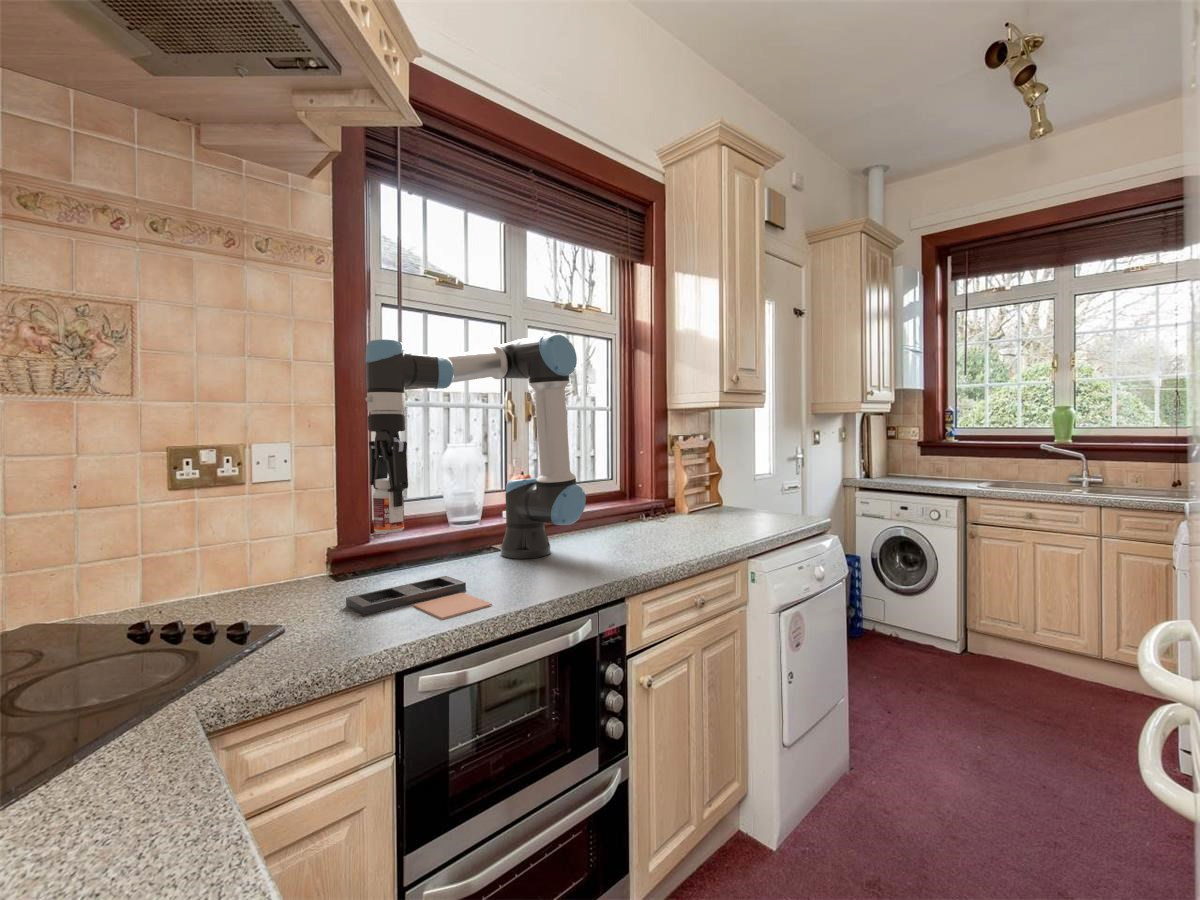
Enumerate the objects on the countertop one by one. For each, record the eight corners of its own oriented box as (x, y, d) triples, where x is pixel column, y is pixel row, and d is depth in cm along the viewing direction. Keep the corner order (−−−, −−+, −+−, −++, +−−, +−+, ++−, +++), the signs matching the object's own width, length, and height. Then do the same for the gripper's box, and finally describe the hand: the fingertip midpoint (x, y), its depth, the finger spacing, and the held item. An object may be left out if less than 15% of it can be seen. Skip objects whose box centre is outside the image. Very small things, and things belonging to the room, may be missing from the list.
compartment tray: (446, 583, 134) (445, 575, 134) (465, 590, 128) (465, 582, 128) (346, 606, 117) (345, 597, 117) (363, 616, 111) (363, 606, 110)
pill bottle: (386, 534, 113) (385, 480, 113) (367, 532, 116) (366, 479, 116) (410, 529, 119) (409, 478, 118) (391, 527, 122) (390, 477, 121)
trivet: (461, 594, 125) (461, 592, 125) (492, 605, 117) (492, 603, 117) (413, 606, 117) (413, 604, 117) (441, 619, 108) (441, 617, 108)
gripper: (351, 414, 120) (354, 517, 121) (388, 411, 107) (391, 527, 108) (384, 414, 126) (387, 513, 127) (424, 412, 112) (426, 522, 113)
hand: (389, 519), depth 117 cm, fingers closed on pill bottle, 6 cm apart
